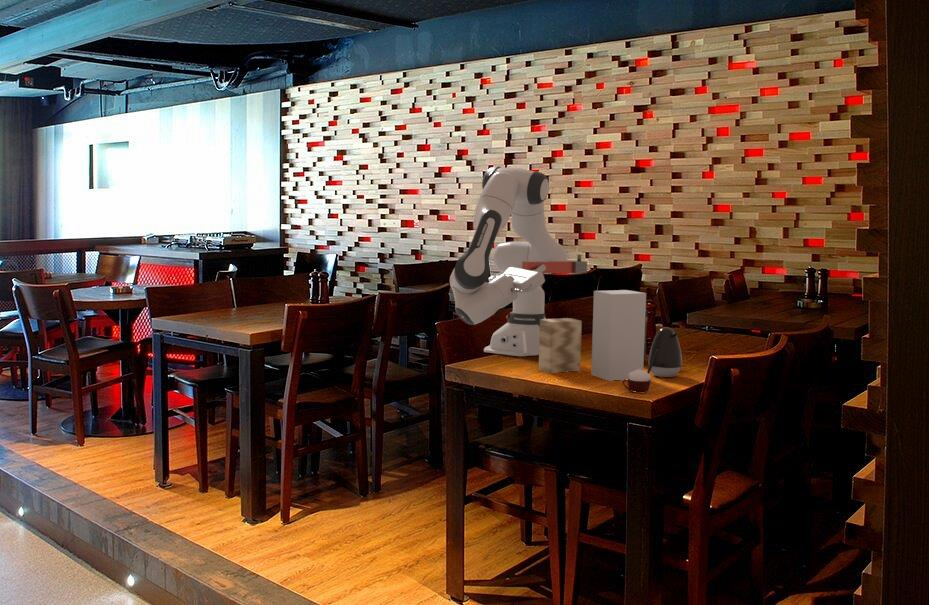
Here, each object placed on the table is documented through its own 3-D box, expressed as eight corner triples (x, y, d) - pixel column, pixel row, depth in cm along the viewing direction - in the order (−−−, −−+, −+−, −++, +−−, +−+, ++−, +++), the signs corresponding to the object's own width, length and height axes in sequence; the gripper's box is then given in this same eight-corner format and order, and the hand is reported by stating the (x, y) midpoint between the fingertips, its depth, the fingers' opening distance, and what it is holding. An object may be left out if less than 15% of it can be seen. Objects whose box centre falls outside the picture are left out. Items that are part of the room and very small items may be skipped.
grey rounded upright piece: (661, 380, 258) (663, 330, 256) (640, 374, 267) (642, 325, 266) (688, 378, 262) (691, 328, 260) (667, 372, 272) (669, 324, 270)
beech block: (549, 373, 266) (550, 322, 264) (538, 369, 273) (539, 319, 271) (580, 371, 271) (581, 320, 269) (568, 367, 277) (570, 318, 275)
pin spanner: (529, 274, 258) (529, 255, 258) (520, 272, 264) (520, 254, 263) (586, 273, 266) (587, 255, 266) (576, 271, 272) (577, 254, 271)
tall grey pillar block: (609, 381, 255) (612, 294, 253) (591, 375, 265) (593, 290, 262) (642, 378, 260) (646, 293, 257) (624, 372, 269) (627, 290, 266)
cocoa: (621, 393, 241) (620, 351, 240) (627, 388, 247) (626, 347, 245) (655, 395, 237) (654, 352, 235) (660, 390, 243) (659, 348, 241)
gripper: (516, 283, 249) (552, 259, 253) (486, 277, 267) (520, 254, 271) (525, 301, 251) (561, 277, 255) (494, 294, 269) (529, 271, 273)
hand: (540, 265), depth 263 cm, fingers closed on pin spanner, 3 cm apart
